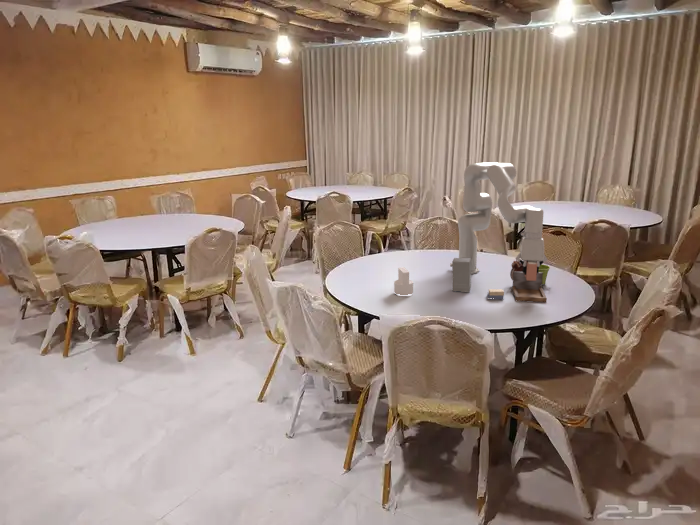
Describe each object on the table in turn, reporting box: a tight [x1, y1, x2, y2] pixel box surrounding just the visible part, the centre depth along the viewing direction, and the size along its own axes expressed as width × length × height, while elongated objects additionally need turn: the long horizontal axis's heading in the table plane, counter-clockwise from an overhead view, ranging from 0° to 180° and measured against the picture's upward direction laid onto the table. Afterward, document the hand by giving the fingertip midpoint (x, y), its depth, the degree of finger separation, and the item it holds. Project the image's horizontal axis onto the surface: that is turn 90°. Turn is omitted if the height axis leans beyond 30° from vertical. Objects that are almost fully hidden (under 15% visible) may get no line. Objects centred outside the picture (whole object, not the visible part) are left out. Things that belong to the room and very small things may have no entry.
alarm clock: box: [509, 259, 523, 281], centre depth 249 cm, size 11×5×15 cm, turn 100°
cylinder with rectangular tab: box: [393, 266, 414, 295], centre depth 242 cm, size 9×9×12 cm
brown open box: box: [511, 271, 548, 303], centre depth 235 cm, size 13×17×9 cm
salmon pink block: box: [525, 261, 537, 281], centre depth 233 cm, size 4×9×8 cm, turn 168°
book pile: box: [486, 288, 505, 300], centre depth 234 cm, size 7×4×4 cm, turn 78°
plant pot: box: [539, 264, 551, 285], centre depth 253 cm, size 9×9×9 cm
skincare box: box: [451, 257, 472, 293], centre depth 244 cm, size 8×7×16 cm
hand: (530, 273), depth 234 cm, fingers closed on salmon pink block, 4 cm apart
